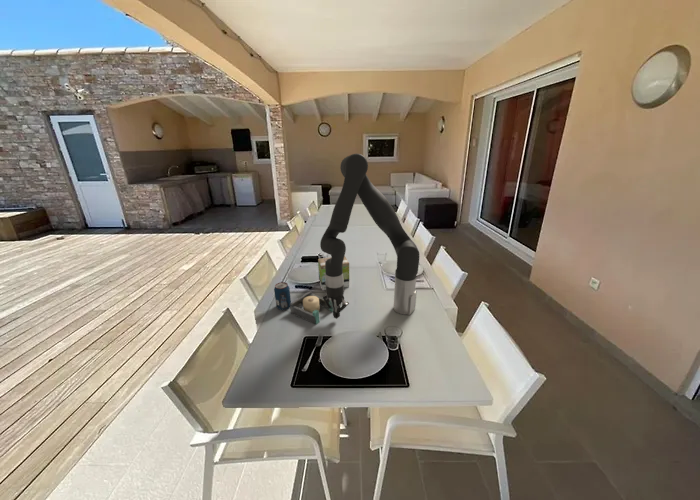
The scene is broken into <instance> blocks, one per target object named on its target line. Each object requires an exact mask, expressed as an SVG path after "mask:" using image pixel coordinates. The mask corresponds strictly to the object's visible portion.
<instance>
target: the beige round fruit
mask: <svg viewBox="0 0 700 500" xmlns="http://www.w3.org/2000/svg"><path fill="white" fill-rule="evenodd" d="M320 308H321V306H320V305H319V298H318V297H316V296H308V297H305V298H304V299H303V307H302V309H303V310H305V311H308V312H310V313H312V314H313V311H315V310H318V311H319V313H320V311H321V310H320Z"/></svg>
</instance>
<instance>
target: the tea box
mask: <svg viewBox="0 0 700 500" xmlns="http://www.w3.org/2000/svg"><path fill="white" fill-rule="evenodd" d="M330 258H331V257H324V258H323V257H322V258H318V259H317V267H318V268H317V269H318V281H319V280H320V283H319V286H320V285H321V286H320V288H321V290H322V292H323V291H326V281H325V277H326V272H325V262H326V260H328V259H330ZM342 266H343V278H344V289H346V288H350V262H349V260H348V259H347V257H346V255H345V256H344V260H343V264H342Z"/></svg>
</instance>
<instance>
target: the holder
mask: <svg viewBox="0 0 700 500" xmlns="http://www.w3.org/2000/svg"><path fill="white" fill-rule="evenodd" d="M308 296H316V297H318V298H319V306H320V307H322V308H325V309H327V310H328V311H329V312H330V313H333V311H332V309H331V308H329V307H328V305H327V304H326V302H325V300H324V299H323V296H319V295H316V294H314V293H313V292H312V291H307V292H306V293H304V294H303V295H302V296H300V297H298V298H297V299H295V300H294V301H291V303H290V308H289V310H290V314H292V315H294V316H296V317H298V318H301V319H303V320H305V321H307V322H309V323H312V324H314V325H315V326H316V325H318V324H319V323H320V312H319V311H318V310H315V311H313V314H312V313H310V312H308V311H305V310H304V308H303V299H304V298H305V297H308ZM329 304H330V302H329Z"/></svg>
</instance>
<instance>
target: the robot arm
mask: <svg viewBox="0 0 700 500" xmlns="http://www.w3.org/2000/svg"><path fill="white" fill-rule="evenodd" d="M368 169H369V162H368V160H367V158H366V157H365V156H364V155H363V154H361V153H352V154H350V155H347V156H346V157H344V158H343V159H342V160H341V163H340V172H341V175H342V176H343V177H344V180H343V184H342V188H341V191H340V194H339V196H338V198H337V200H336V203H335V204H334V207H333V211H332V212H331V213H332V214H331V218H330V221H329V224H328V226H327V228H326V229H325V232H324V233H323V235H322V237H321V239H320V245H319V246H320V249H321V251H322V252H323V253H326V254H328V255H330V256H331V258H330V257H329V258H330V259H328V260H326V262H325V272H326V277H325V281H326V290H325V293H326V294H325V295H323V296H322V298H323V299H324V300H325V302H326V304H327V305H328V307H329V308H331V309H332V311H333V312H332V316H333V318H334V319H336V320H337V319H338V318H340V316H341V312H342V311H344V310H345V309H346V308H347V306H349V304H350V303H349V302H348V301H346V300H345V297H344V293H345V288H344V278H343V266H342V264H343V260H344V256H345V257H346V250H347V248H346V247H347V246H346V243H345V242H344V240H343V239H340V238H337V237H338V235H339V234H342V233H346V231H347V229H348V226H349V222H350V218H351V214H352V212H353V208H354V204H355V201H356V199H357V195H358V197H359V198H360V201H361V202H362V204H363V205H364V207H365V209H366V211H367V212H368V214H369V215H370V217H371V219H372V220H373V222H374V223H375V224H376V226H377V227H378V228H379V229H380V230H381V231H382V232H383V233H384V234H385V235H386V236H387V238H388V239H389V241H390V242H391V244H392V246H393V249H394V252H395V254H396V269H395V271H394V272H395V274H394V295H393V310H394V311H395V312H396V313H397V314H400V315H409V316H411V314H412V313H414V311H415V310H416V306H417V305H416V303H417V290H416V285H417V275H418V272H419V265H420V250H419V249H418V247H417V245H416V243H415V242H414V241H413V239H412V238H411V237H410V235H409V234H408V233H407V232H406V231H405V230H404V228H403V226H402V224H401V221H400V219H399V217H398V215H397V213H396V211H395V209H394V207H393V206H392V204H391V203H390V202H389V200H388V198H387V197H386V196H385V195H384V194H383V193H382V192H381V191H380V190H379V189H378V188H377V187H376V186H375V185H374V184H373V182H371V180H370V178H369V177H368V175H367V172H368ZM329 302H330V304H329Z"/></svg>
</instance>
